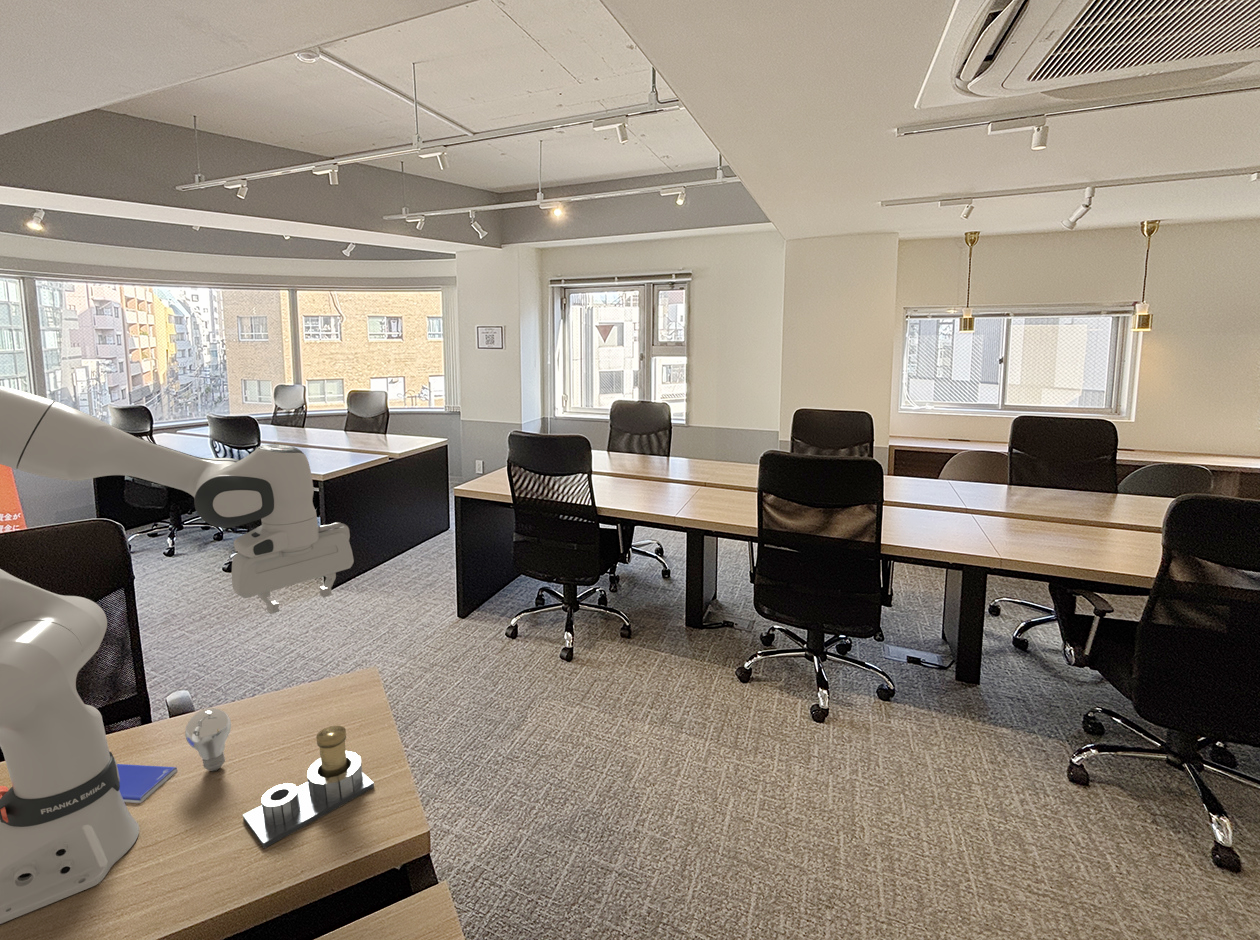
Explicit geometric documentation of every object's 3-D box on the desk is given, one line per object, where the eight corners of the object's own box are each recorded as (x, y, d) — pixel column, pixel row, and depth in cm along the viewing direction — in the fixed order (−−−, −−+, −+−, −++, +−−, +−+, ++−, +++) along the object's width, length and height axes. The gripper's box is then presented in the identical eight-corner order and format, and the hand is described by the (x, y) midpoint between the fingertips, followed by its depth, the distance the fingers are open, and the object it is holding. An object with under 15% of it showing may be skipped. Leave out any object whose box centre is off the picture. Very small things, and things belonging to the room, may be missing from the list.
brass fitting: (329, 797, 110) (323, 745, 108) (317, 785, 113) (311, 734, 110) (355, 783, 113) (350, 732, 111) (343, 771, 116) (338, 722, 114)
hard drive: (176, 766, 118) (113, 762, 119) (139, 797, 110) (72, 793, 111) (178, 773, 118) (115, 769, 119) (141, 805, 110) (74, 801, 111)
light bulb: (216, 784, 114) (205, 725, 112) (183, 779, 116) (172, 720, 113) (246, 759, 121) (237, 702, 118) (214, 754, 122) (205, 698, 120)
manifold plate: (264, 848, 100) (260, 824, 99) (243, 819, 106) (239, 796, 105) (374, 787, 113) (371, 765, 112) (350, 764, 119) (347, 743, 118)
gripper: (340, 516, 126) (347, 582, 129) (223, 543, 111) (234, 617, 114) (355, 523, 122) (362, 591, 125) (235, 551, 107) (247, 627, 110)
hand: (300, 603), depth 119 cm, fingers open, 8 cm apart
